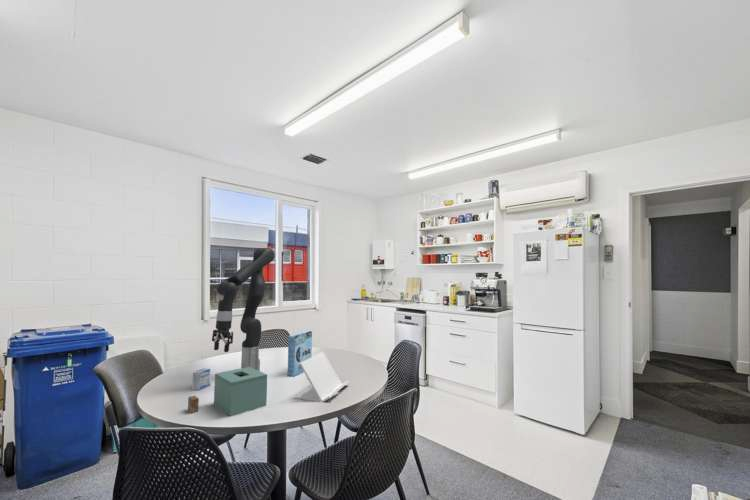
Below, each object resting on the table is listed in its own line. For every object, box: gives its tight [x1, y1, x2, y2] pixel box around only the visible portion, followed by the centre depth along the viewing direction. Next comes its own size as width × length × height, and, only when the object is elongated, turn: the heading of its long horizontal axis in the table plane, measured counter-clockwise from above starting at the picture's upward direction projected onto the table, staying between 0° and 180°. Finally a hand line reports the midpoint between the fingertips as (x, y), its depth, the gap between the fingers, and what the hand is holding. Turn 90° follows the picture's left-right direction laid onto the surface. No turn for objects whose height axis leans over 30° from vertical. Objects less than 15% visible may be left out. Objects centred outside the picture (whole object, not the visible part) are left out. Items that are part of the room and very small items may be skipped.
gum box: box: [287, 330, 313, 377], centre depth 202 cm, size 20×5×23 cm, turn 160°
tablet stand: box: [295, 351, 349, 403], centre depth 168 cm, size 18×25×17 cm
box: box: [213, 367, 268, 417], centre depth 150 cm, size 16×18×14 cm
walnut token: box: [187, 395, 200, 414], centre depth 143 cm, size 2×5×6 cm, turn 46°
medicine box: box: [191, 368, 211, 391], centre depth 173 cm, size 8×4×9 cm, turn 168°
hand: (221, 350), depth 175 cm, fingers open, 8 cm apart
